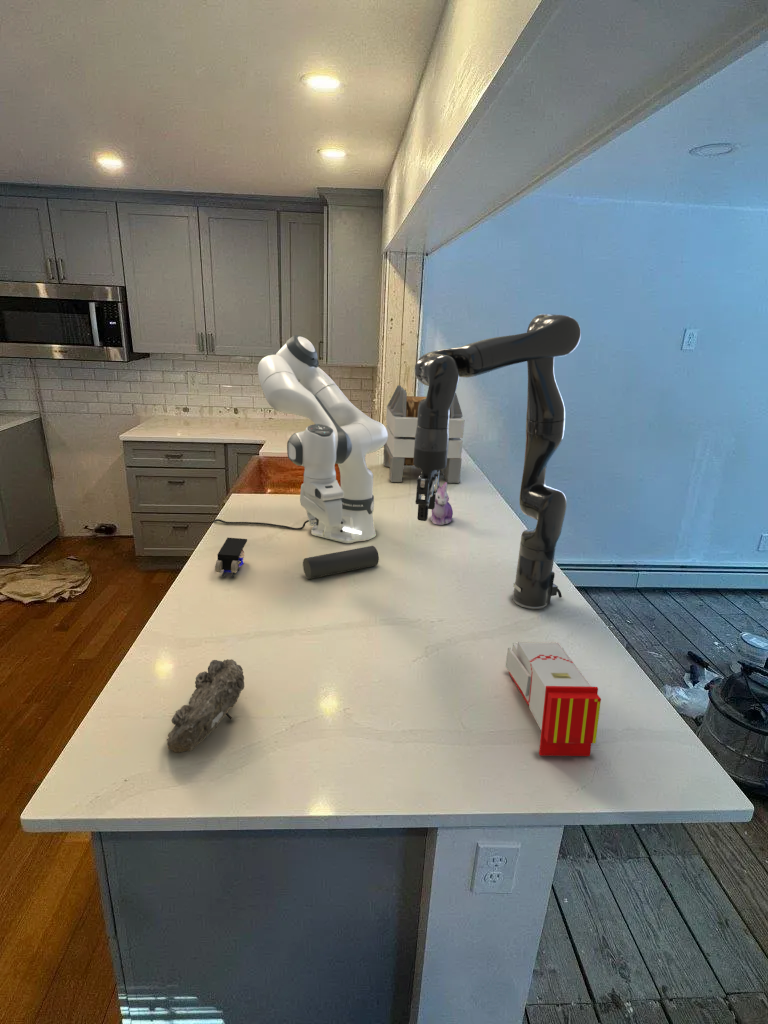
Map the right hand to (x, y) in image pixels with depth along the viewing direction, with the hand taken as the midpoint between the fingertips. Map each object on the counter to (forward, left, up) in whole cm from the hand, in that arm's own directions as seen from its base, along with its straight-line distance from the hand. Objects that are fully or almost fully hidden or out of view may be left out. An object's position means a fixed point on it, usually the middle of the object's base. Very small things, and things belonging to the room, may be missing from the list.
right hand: (426, 514), depth 132 cm
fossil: (+51, +19, -30) cm, 62 cm away
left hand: (+17, -34, -16) cm, 41 cm away
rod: (+10, -35, -30) cm, 47 cm away
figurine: (-38, -67, -30) cm, 82 cm away
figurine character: (+41, -45, -30) cm, 67 cm away
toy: (-12, +35, -30) cm, 48 cm away
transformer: (-57, -130, -30) cm, 144 cm away
